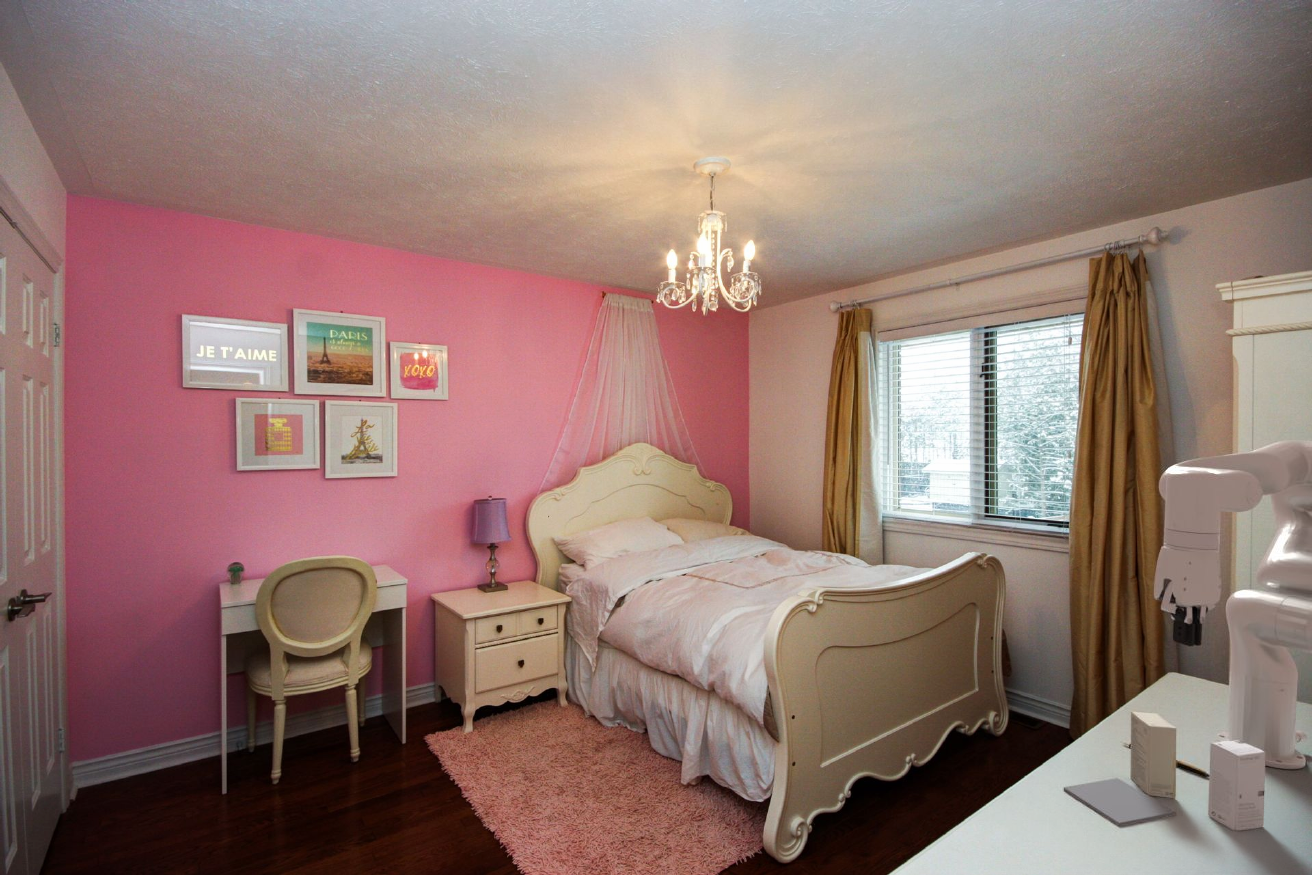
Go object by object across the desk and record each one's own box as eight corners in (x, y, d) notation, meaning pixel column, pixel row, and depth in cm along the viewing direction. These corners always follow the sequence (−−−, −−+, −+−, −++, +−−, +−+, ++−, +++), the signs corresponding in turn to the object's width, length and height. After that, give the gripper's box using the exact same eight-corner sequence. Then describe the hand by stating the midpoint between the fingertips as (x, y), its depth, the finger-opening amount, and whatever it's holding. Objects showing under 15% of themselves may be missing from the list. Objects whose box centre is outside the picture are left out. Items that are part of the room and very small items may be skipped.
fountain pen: (1118, 745, 127) (1118, 738, 127) (1121, 744, 127) (1121, 736, 127) (1209, 781, 114) (1210, 772, 114) (1212, 779, 115) (1212, 771, 115)
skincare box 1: (1176, 799, 108) (1179, 729, 108) (1146, 795, 109) (1149, 726, 109) (1155, 778, 114) (1158, 712, 114) (1127, 775, 115) (1130, 709, 115)
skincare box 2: (1235, 832, 100) (1239, 756, 99) (1205, 814, 104) (1208, 742, 104) (1265, 827, 101) (1269, 752, 101) (1234, 810, 105) (1237, 738, 105)
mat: (1117, 780, 114) (1117, 777, 114) (1175, 814, 104) (1176, 811, 104) (1063, 789, 110) (1063, 787, 110) (1119, 825, 101) (1119, 822, 101)
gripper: (1200, 535, 118) (1196, 633, 118) (1136, 537, 114) (1132, 639, 114) (1247, 542, 111) (1242, 647, 111) (1180, 546, 107) (1176, 654, 107)
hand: (1186, 642), depth 113 cm, fingers closed
